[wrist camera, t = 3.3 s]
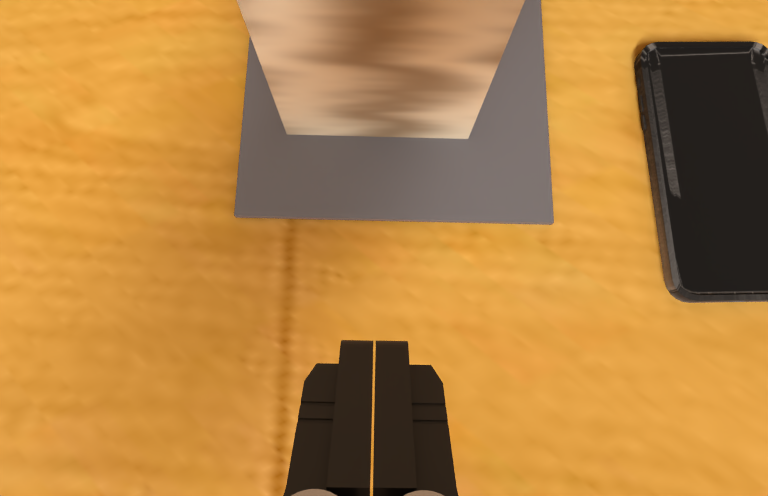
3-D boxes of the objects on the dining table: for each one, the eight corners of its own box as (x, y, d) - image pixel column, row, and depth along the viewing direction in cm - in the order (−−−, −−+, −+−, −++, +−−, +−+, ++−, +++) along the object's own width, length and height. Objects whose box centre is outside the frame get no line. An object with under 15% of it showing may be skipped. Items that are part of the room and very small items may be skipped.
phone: (770, 41, 30) (825, 298, 27) (756, 53, 31) (807, 301, 28) (636, 42, 30) (673, 301, 26) (626, 53, 31) (661, 303, 27)
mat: (533, -95, 33) (534, -101, 32) (551, 224, 28) (553, 222, 28) (263, -104, 32) (262, -109, 32) (236, 217, 28) (234, 215, 27)
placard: (467, 109, 29) (550, -121, 15) (468, 139, 29) (553, -70, 15) (288, 104, 29) (212, -132, 15) (286, 134, 28) (206, -81, 15)
